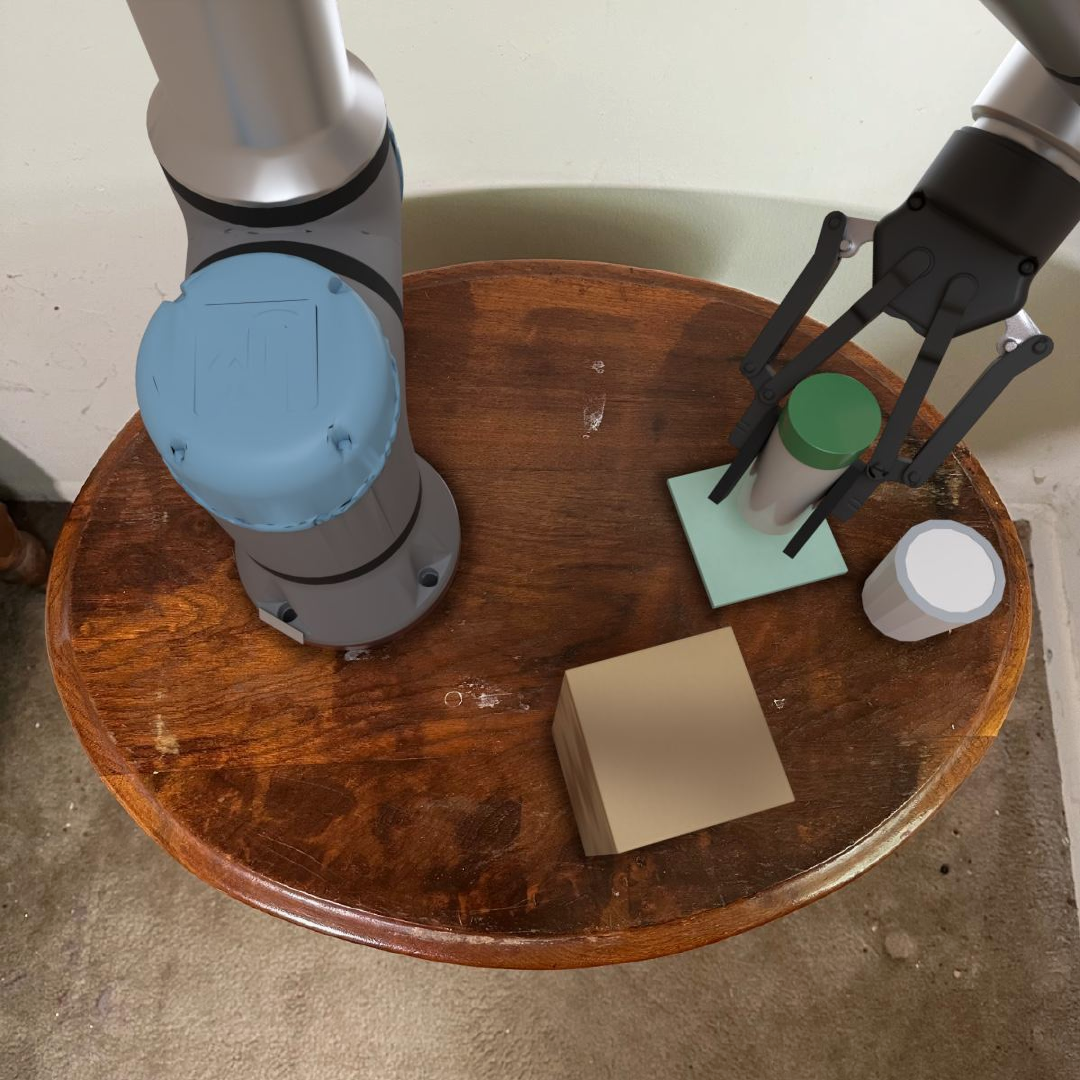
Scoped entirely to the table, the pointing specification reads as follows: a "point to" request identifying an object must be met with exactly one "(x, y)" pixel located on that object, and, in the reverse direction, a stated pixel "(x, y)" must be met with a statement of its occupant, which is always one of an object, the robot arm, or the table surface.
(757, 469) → the cylinder
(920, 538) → the grey white cylinder
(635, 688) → the plinth
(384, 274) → the robot arm
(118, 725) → the table surface
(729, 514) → the mat
